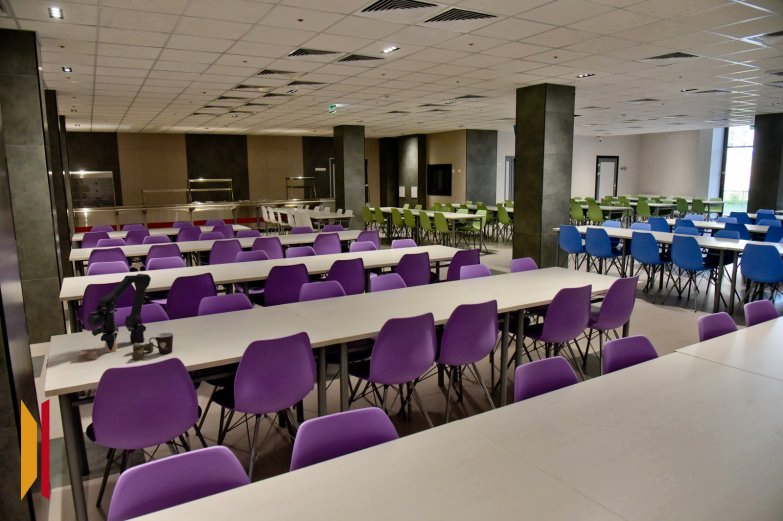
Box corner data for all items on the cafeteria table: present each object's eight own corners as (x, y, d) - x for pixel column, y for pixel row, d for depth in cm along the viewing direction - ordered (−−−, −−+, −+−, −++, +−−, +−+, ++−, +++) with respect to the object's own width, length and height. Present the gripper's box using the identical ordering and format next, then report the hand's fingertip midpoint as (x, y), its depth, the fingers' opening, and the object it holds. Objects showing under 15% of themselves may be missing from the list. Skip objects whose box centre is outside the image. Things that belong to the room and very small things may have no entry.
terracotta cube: (117, 348, 290) (116, 339, 290) (115, 351, 286) (115, 342, 285) (107, 349, 289) (106, 340, 288) (105, 352, 284) (104, 343, 283)
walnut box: (99, 355, 280) (99, 348, 279) (96, 360, 272) (95, 353, 272) (82, 357, 278) (82, 349, 277) (78, 362, 270) (77, 354, 269)
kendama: (127, 362, 270) (137, 349, 289) (147, 361, 272) (156, 348, 291) (126, 351, 269) (136, 338, 288) (146, 350, 271) (155, 338, 290)
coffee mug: (178, 351, 286) (176, 333, 284) (166, 356, 278) (165, 337, 276) (160, 348, 289) (159, 331, 288) (148, 353, 281) (147, 335, 280)
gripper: (95, 318, 291) (97, 345, 293) (88, 326, 273) (91, 355, 276) (117, 316, 294) (120, 342, 297) (112, 324, 277) (115, 353, 280)
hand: (111, 348), depth 287 cm, fingers closed on terracotta cube, 5 cm apart
